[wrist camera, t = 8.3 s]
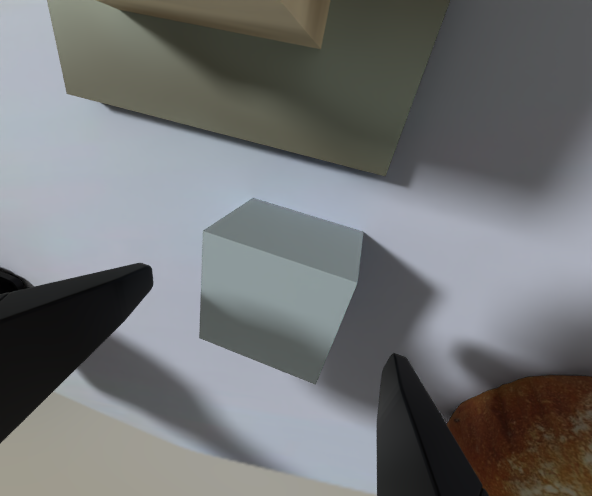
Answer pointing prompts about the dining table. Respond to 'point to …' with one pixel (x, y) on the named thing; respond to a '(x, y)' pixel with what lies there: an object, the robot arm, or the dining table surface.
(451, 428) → the bread roll
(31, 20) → the dining table surface
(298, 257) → the gray brick
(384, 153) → the build board
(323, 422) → the dining table surface
